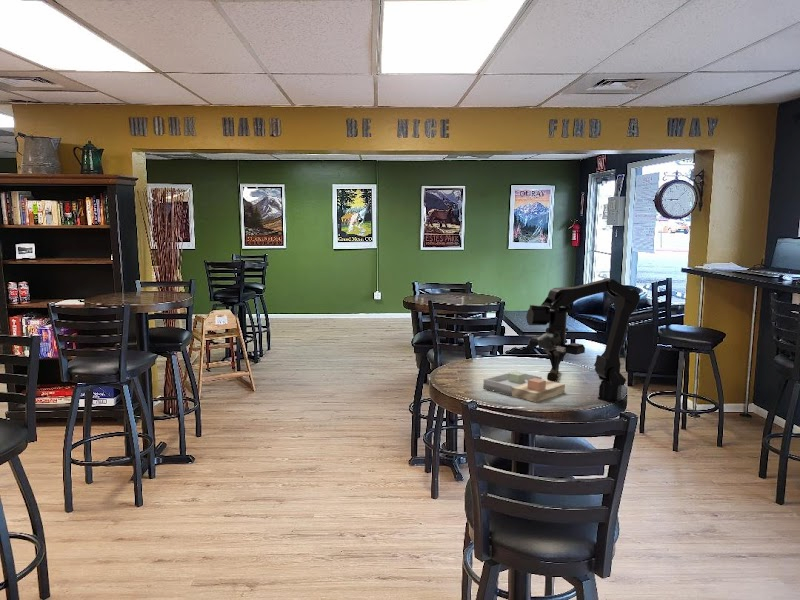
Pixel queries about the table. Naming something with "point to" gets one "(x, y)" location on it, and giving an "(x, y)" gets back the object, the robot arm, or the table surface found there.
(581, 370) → the table surface
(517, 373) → the sage block
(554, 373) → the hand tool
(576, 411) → the table surface
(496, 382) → the tray
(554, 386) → the birch board
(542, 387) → the terracotta block
